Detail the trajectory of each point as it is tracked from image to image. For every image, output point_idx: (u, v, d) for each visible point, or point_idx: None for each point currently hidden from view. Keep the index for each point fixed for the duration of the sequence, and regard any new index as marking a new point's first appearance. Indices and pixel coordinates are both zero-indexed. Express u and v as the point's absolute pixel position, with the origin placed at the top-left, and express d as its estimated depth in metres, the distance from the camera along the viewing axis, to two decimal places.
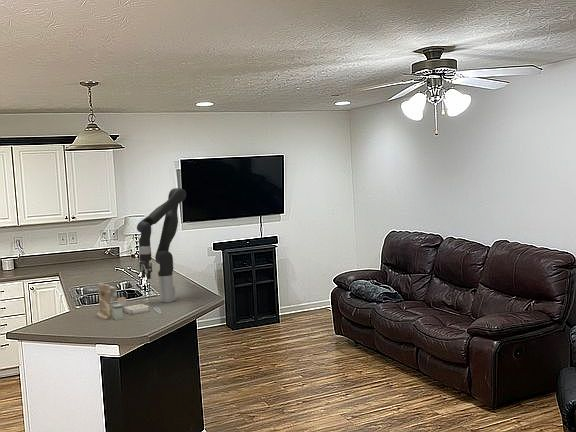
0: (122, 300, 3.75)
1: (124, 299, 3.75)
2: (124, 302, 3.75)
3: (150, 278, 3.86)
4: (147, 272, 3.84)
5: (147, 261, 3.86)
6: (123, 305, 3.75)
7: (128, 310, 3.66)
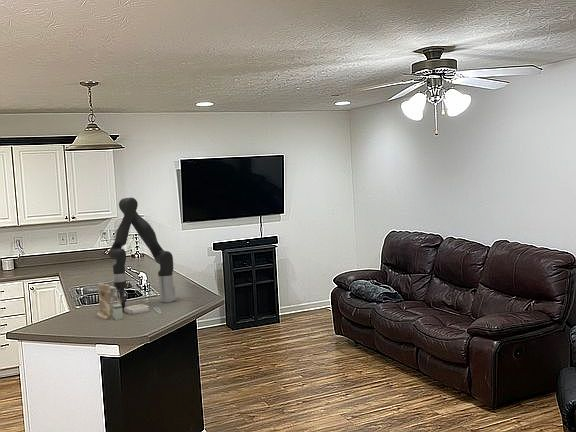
0: None
1: None
2: None
3: None
4: (121, 302, 3.73)
5: (122, 289, 3.73)
6: None
7: (128, 310, 3.66)
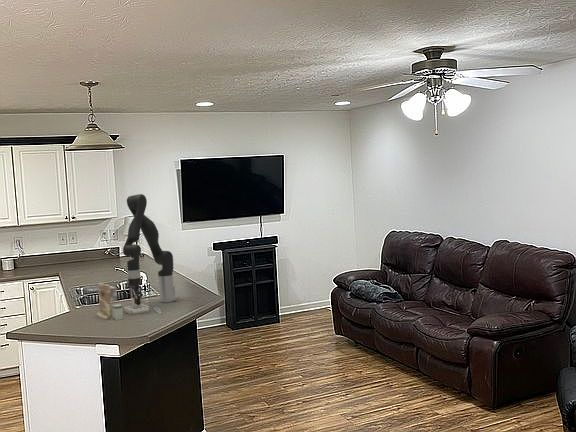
0: None
1: None
2: None
3: None
4: (136, 298, 3.66)
5: (136, 286, 3.67)
6: (138, 305, 3.69)
7: (128, 310, 3.66)
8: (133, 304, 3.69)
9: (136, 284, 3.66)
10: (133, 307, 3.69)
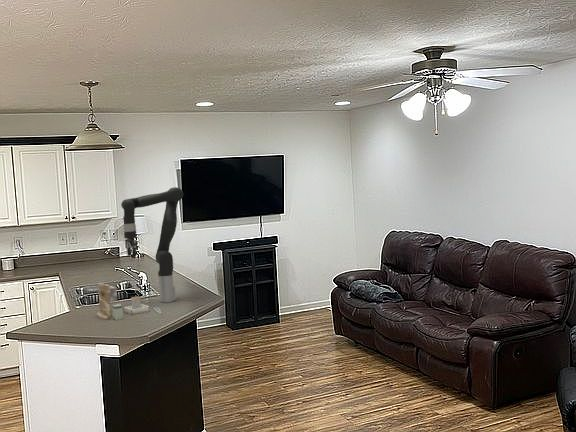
0: (137, 299, 3.68)
1: (139, 298, 3.69)
2: (138, 301, 3.69)
3: None
4: (132, 249, 3.83)
5: (132, 238, 3.84)
6: (138, 305, 3.69)
7: (128, 310, 3.66)
8: (133, 304, 3.69)
9: (132, 237, 3.84)
10: (133, 307, 3.69)
